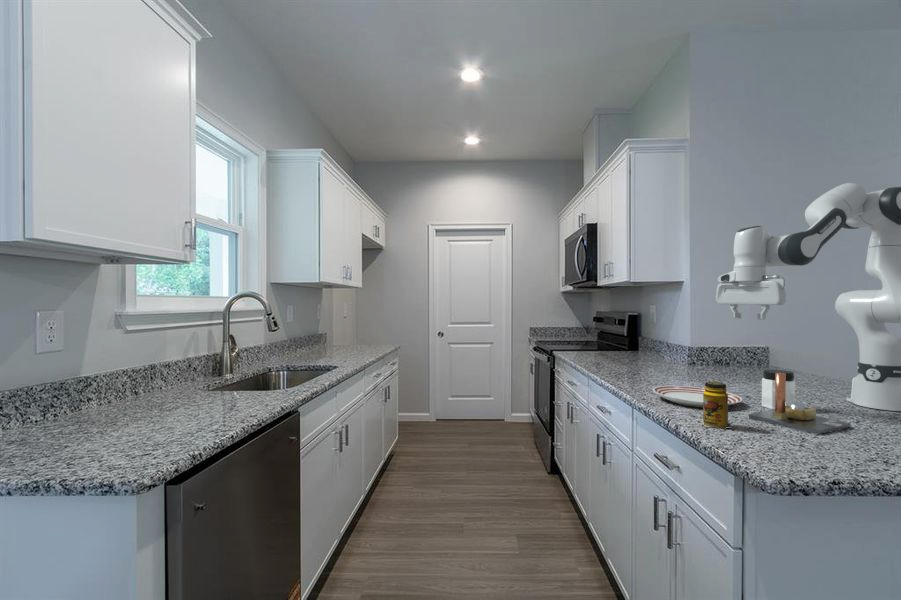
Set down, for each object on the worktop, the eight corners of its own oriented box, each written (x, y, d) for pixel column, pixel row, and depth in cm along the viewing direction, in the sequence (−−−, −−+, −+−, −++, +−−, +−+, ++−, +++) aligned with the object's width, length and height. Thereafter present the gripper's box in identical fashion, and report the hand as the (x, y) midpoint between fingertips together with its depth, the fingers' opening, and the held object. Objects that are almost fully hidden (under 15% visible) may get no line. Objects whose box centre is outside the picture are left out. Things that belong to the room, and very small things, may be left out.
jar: (787, 412, 142) (787, 374, 142) (758, 406, 149) (758, 370, 149) (798, 408, 147) (798, 371, 147) (770, 403, 154) (770, 368, 154)
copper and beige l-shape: (790, 411, 137) (790, 368, 137) (818, 417, 130) (818, 372, 130) (763, 416, 131) (763, 371, 131) (792, 423, 124) (792, 375, 124)
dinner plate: (727, 396, 166) (727, 387, 166) (755, 414, 140) (755, 404, 140) (647, 391, 174) (647, 383, 174) (659, 408, 148) (659, 398, 148)
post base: (779, 412, 142) (780, 396, 142) (850, 427, 126) (851, 409, 126) (747, 418, 135) (747, 401, 135) (818, 435, 118) (818, 416, 118)
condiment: (701, 426, 126) (702, 384, 126) (700, 419, 134) (700, 379, 133) (732, 430, 123) (732, 386, 123) (729, 422, 130) (729, 381, 130)
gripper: (790, 275, 138) (790, 320, 138) (725, 277, 156) (724, 317, 156) (778, 274, 135) (778, 320, 135) (713, 277, 154) (713, 317, 154)
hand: (749, 318), depth 146 cm, fingers open, 6 cm apart
